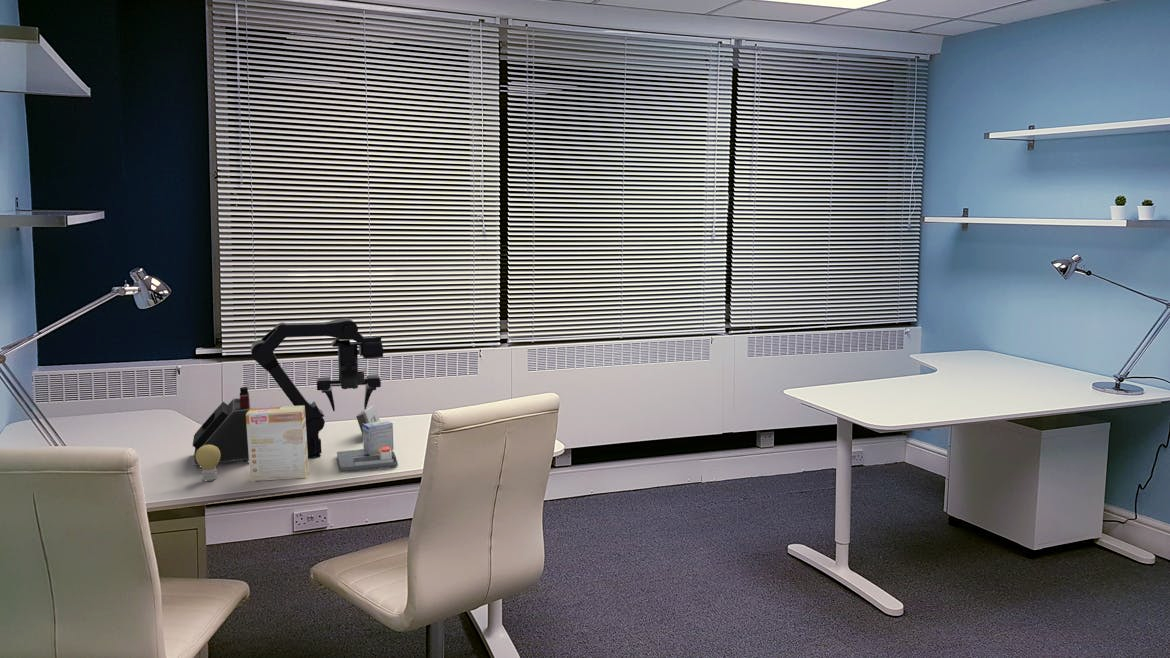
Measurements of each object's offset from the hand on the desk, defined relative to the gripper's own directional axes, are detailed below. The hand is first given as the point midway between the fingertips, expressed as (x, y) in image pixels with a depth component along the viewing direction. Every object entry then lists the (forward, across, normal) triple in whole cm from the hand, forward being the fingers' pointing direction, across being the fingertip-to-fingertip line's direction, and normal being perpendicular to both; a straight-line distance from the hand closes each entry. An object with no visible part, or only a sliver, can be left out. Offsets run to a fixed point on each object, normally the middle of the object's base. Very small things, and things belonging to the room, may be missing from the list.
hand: (349, 410), depth 278 cm
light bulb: (+14, -39, -16) cm, 44 cm away
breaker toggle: (+11, +9, -17) cm, 23 cm away
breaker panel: (+13, +4, -13) cm, 18 cm away
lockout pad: (+11, +8, -9) cm, 17 cm away
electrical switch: (+13, +7, +16) cm, 21 cm away
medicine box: (+11, +8, -10) cm, 16 cm away
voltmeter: (+14, -37, +4) cm, 39 cm away
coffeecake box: (+13, -20, -19) cm, 31 cm away
